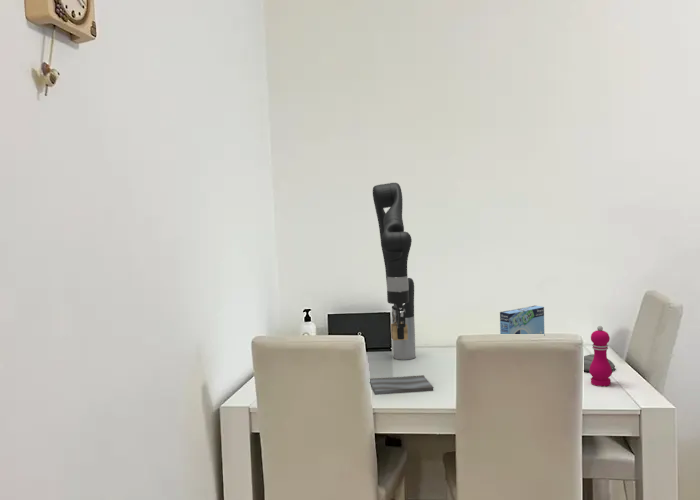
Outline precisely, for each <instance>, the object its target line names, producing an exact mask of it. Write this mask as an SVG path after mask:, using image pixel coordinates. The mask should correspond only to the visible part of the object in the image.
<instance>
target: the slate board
mask: <svg viewBox="0 0 700 500" xmlns="http://www.w3.org/2000/svg"><path fill="white" fill-rule="evenodd" d="M369 379H370V382H369V384H370V386H371V388H372V391H373V394H374V395H386V394H387V395H388V394H390V395H391V394H402V393H403V394H404V393H418V392H419V393H420V392H431V391H432V392H433V391H434V387H433V385H432V384H431V383H430V381H429V380H428V379H427V378H426V376H425V375H424V374H423V375H420V374H419V375H407V376H391V377H375V378H374V377H373V378H369Z"/></svg>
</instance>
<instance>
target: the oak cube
mask: <svg viewBox="0 0 700 500" xmlns="http://www.w3.org/2000/svg"><path fill="white" fill-rule="evenodd" d="M400 324H402V323H400ZM405 325H406V326H405V327H404V339H398V337H397V323H393V324H392V323H390V333H391V334H390V336H391V339H392V341H393V340H408V327H407V324H405Z"/></svg>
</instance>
